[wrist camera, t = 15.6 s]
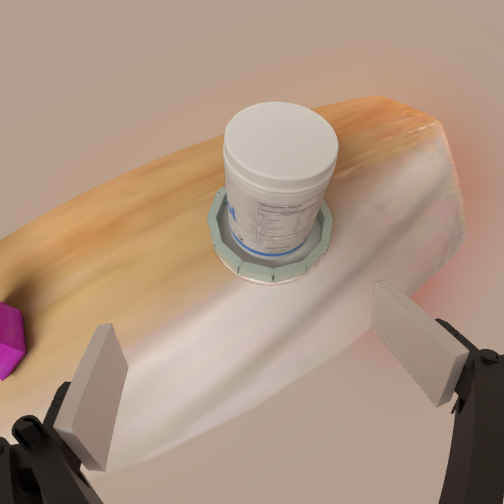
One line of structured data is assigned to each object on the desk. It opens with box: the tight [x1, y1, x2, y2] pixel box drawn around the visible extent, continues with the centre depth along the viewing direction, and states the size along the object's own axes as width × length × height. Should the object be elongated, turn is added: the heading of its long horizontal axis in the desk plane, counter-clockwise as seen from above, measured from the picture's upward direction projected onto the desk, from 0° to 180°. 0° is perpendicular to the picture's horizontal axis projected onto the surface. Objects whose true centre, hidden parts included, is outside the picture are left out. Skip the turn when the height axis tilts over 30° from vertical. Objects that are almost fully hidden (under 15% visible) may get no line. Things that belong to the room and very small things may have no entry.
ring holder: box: [207, 185, 333, 285], centre depth 36 cm, size 14×14×3 cm
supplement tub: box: [223, 102, 339, 260], centre depth 30 cm, size 10×10×15 cm
